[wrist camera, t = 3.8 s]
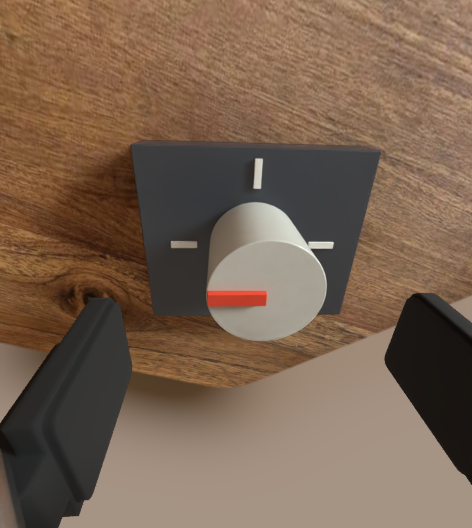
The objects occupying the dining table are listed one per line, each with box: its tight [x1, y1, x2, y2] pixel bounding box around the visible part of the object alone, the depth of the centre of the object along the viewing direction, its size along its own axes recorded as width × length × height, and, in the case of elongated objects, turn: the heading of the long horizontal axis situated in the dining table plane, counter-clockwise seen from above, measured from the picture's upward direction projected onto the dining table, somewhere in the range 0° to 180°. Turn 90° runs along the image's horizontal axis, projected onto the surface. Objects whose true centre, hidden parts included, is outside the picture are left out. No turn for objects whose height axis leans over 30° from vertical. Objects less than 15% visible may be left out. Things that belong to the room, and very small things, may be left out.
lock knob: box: [206, 202, 327, 341], centre depth 13 cm, size 5×5×5 cm
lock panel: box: [130, 140, 381, 316], centre depth 16 cm, size 12×10×3 cm
